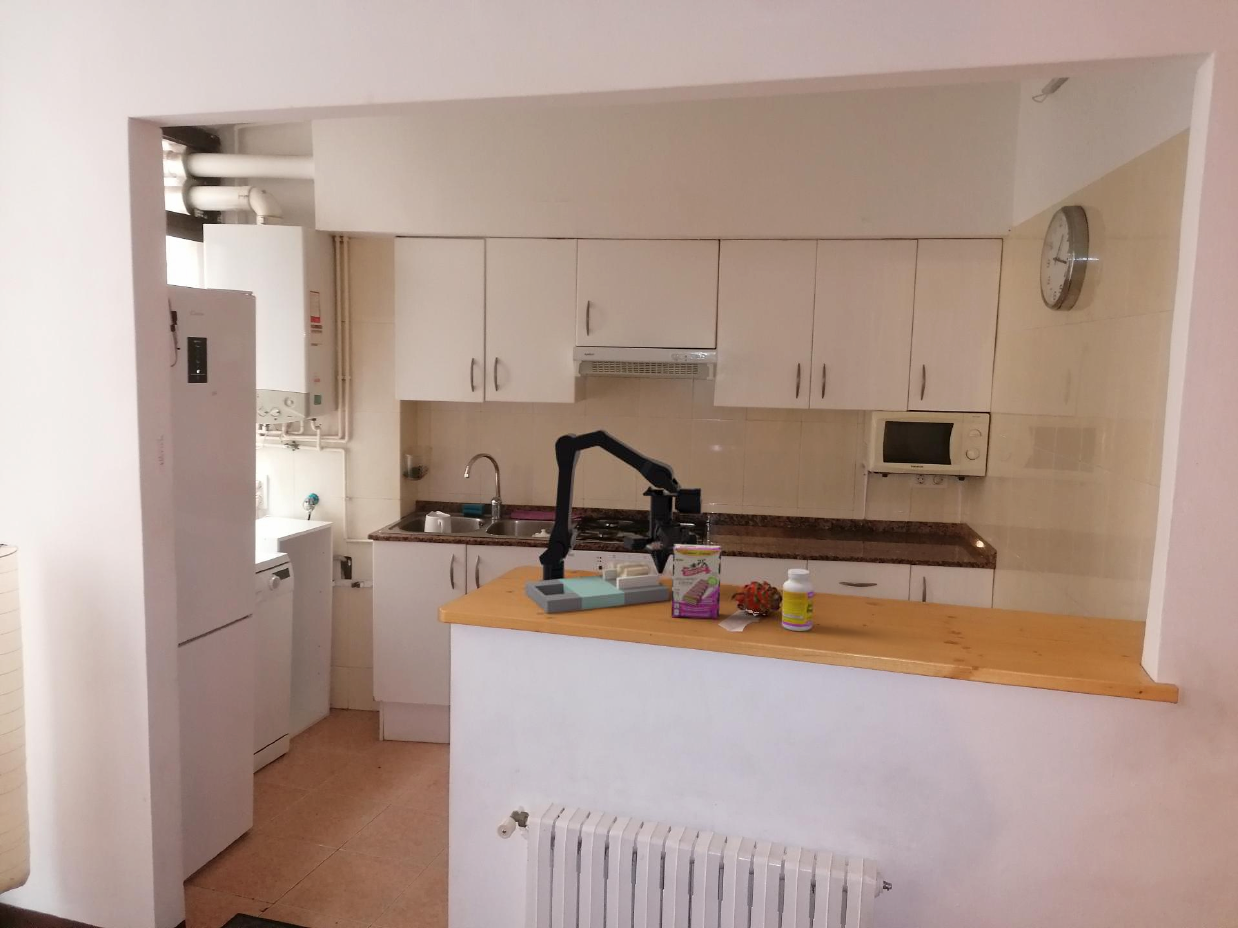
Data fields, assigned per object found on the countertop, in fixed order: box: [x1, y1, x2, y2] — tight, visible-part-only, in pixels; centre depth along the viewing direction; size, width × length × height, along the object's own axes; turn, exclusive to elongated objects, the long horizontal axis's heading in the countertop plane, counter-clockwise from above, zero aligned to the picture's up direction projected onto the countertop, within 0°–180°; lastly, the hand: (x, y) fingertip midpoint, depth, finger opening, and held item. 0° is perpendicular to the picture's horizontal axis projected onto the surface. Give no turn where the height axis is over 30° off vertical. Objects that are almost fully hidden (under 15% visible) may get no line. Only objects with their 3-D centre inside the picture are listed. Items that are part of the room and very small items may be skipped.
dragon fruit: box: [730, 580, 783, 616], centre depth 203 cm, size 8×8×12 cm
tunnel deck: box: [524, 567, 670, 614], centre depth 216 cm, size 18×32×6 cm, turn 113°
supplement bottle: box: [781, 568, 814, 632], centre depth 193 cm, size 7×7×13 cm
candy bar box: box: [670, 543, 722, 620], centre depth 201 cm, size 11×5×16 cm, turn 84°
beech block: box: [616, 562, 649, 578], centre depth 220 cm, size 6×6×4 cm
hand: (660, 573), depth 223 cm, fingers closed
